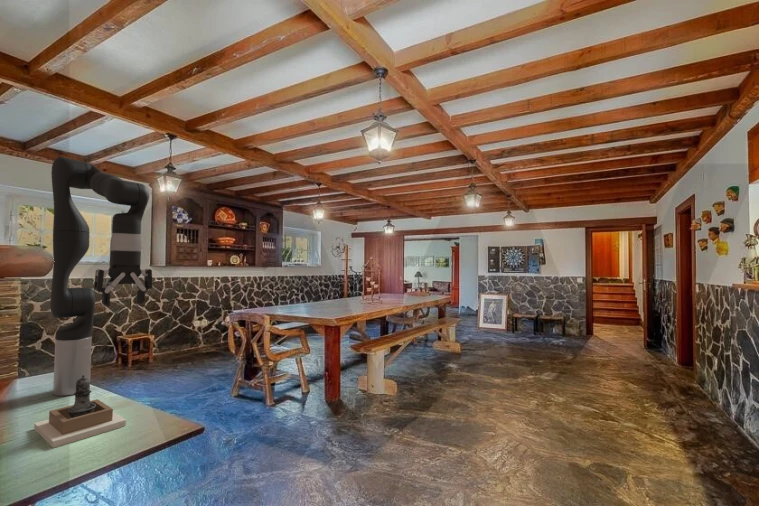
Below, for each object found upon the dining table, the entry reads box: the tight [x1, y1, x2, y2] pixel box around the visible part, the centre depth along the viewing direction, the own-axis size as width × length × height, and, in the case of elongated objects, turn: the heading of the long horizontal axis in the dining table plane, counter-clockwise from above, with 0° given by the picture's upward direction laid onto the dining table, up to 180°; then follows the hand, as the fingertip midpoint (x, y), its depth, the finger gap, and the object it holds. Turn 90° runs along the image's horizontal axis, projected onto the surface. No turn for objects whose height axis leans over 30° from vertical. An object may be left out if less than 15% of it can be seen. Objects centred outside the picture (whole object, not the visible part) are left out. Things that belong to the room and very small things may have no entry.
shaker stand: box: [33, 398, 127, 449], centre depth 98 cm, size 15×15×4 cm
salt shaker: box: [67, 375, 96, 418], centre depth 98 cm, size 6×6×12 cm
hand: (123, 304), depth 111 cm, fingers open, 8 cm apart
